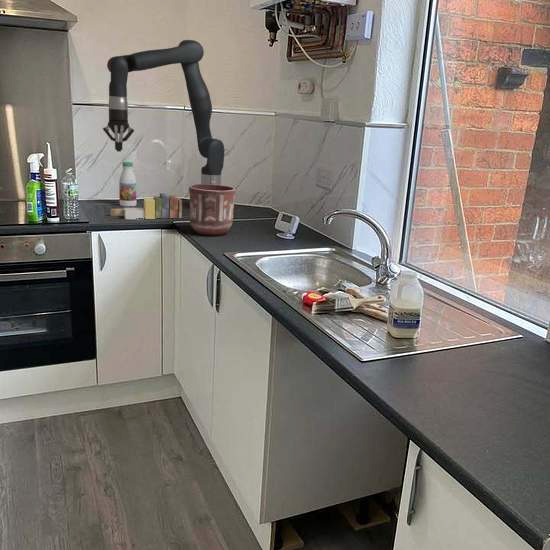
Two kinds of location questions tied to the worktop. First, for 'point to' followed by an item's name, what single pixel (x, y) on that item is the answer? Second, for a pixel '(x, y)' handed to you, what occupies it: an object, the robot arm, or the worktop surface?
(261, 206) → the worktop surface
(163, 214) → the row of books
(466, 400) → the worktop surface
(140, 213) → the off-white matte block
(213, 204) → the pottery
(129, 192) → the milk bottle
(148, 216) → the butter yellow brick
